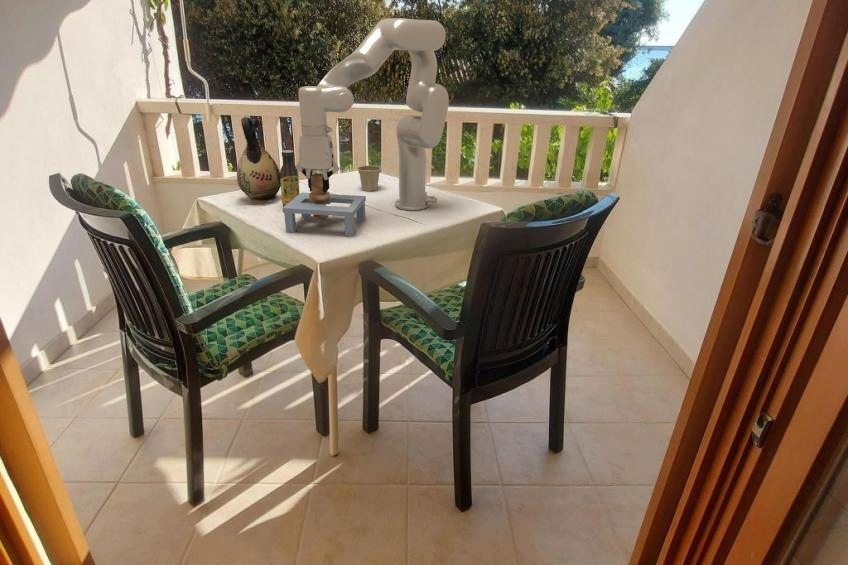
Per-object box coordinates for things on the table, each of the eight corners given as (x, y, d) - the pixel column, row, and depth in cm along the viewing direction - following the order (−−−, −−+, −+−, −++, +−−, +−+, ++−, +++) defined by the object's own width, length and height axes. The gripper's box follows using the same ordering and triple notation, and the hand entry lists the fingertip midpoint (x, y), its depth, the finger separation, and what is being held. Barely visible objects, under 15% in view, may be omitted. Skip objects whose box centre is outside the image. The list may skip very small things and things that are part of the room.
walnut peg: (333, 213, 161) (331, 172, 155) (327, 220, 156) (325, 177, 150) (314, 212, 162) (311, 171, 156) (308, 219, 156) (304, 176, 150)
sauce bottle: (284, 211, 172) (278, 153, 163) (280, 206, 177) (274, 150, 168) (303, 208, 175) (298, 152, 166) (298, 203, 180) (293, 148, 171)
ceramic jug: (246, 193, 190) (234, 112, 177) (286, 193, 191) (278, 112, 178) (234, 207, 175) (220, 119, 161) (278, 207, 176) (268, 120, 163)
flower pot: (358, 186, 202) (357, 165, 198) (381, 186, 203) (380, 165, 200) (357, 192, 194) (357, 171, 190) (381, 192, 195) (381, 170, 191)
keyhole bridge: (303, 215, 169) (301, 192, 165) (366, 219, 166) (365, 196, 163) (285, 232, 154) (282, 207, 150) (353, 237, 151) (352, 212, 148)
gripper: (345, 130, 149) (348, 189, 158) (292, 127, 151) (297, 186, 159) (338, 134, 143) (341, 195, 151) (283, 131, 144) (289, 192, 153)
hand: (319, 190), depth 155 cm, fingers closed on walnut peg, 3 cm apart
